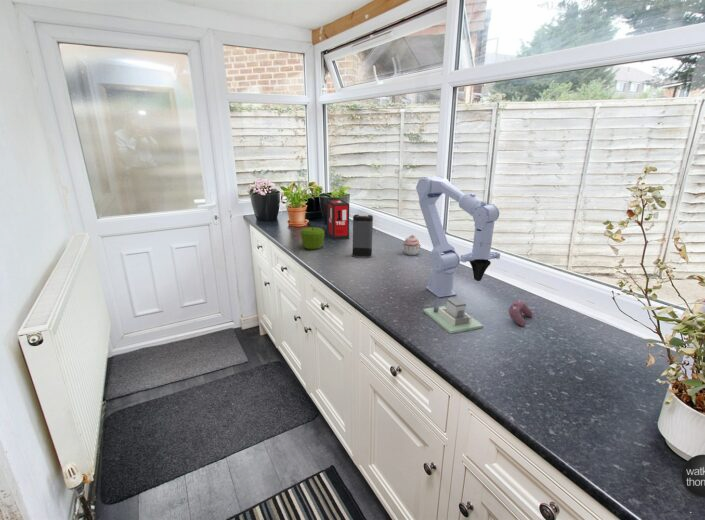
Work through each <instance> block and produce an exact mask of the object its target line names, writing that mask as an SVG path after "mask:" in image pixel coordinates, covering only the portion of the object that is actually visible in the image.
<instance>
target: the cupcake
mask: <svg viewBox="0 0 705 520" xmlns="http://www.w3.org/2000/svg"><path fill="white" fill-rule="evenodd" d="M402 246H403V250H404V251H403V252H404V254H405V255H407V256H416V255H418V252H419V250H420V249H421V247H422V246H421V244H420V242H419V239H418V238H417V237H416V236H415V235H414V234H411V235H409V236H408V237H406V238H405V240H404V242H403V243H402Z"/></svg>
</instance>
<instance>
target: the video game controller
mask: <svg viewBox="0 0 705 520" xmlns="http://www.w3.org/2000/svg"><path fill="white" fill-rule="evenodd" d="M508 314H509V316H510V318H511V319H512V320H513V321H514V322H515V323H516V324H517V325H519V326H520V327H525V326H526V324H527V322H526V320H525V319H524V318H523V315H524V316H526V317H529V318H532V317H533V316H534V313H533V311H532V310H531V309H530V308H529V307H528V305H527V304H526V303H525V301H523V300H514V301H513V302H512V303H511V305H510V307H508Z"/></svg>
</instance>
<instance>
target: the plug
mask: <svg viewBox="0 0 705 520" xmlns="http://www.w3.org/2000/svg"><path fill="white" fill-rule="evenodd" d="M466 305H467V304H466V302H464V301H462V300H461V299H459V298H458V297H453V298H452V297H451V298H447V299H446V305H445V306H446V313H448V314H449V315H450V316H452V317H453V318H460V317H464V315H465V313H466V307H467V306H466Z"/></svg>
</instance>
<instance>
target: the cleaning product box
mask: <svg viewBox="0 0 705 520" xmlns="http://www.w3.org/2000/svg"><path fill="white" fill-rule="evenodd" d="M326 233H327V235H328V236H329V237H331V238H332V239H333V241H335V240H338V241H339V240H349V239H350V204H349V202H347V201H345V200H342V199H327V200H326Z"/></svg>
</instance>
